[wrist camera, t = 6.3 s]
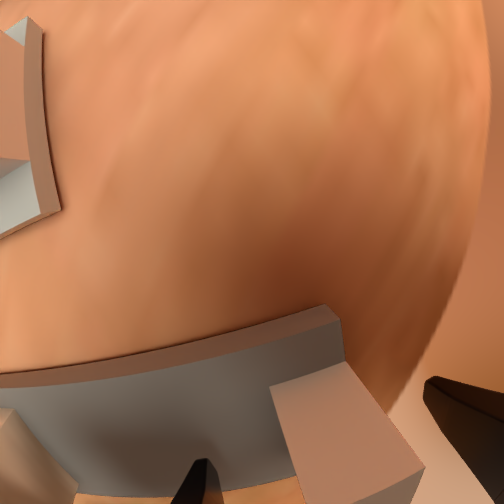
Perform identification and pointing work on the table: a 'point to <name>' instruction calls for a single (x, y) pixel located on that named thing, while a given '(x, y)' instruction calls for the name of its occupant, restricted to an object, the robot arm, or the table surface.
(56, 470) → the cream block
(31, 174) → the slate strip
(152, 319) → the table surface
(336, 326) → the grey piece
